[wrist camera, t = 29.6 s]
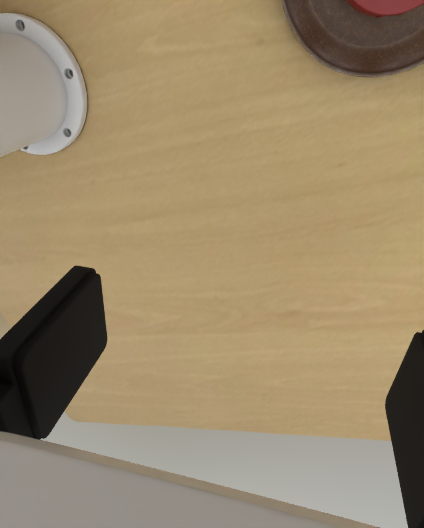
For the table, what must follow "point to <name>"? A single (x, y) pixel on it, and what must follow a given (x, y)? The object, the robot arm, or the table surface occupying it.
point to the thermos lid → (384, 6)
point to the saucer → (357, 37)
